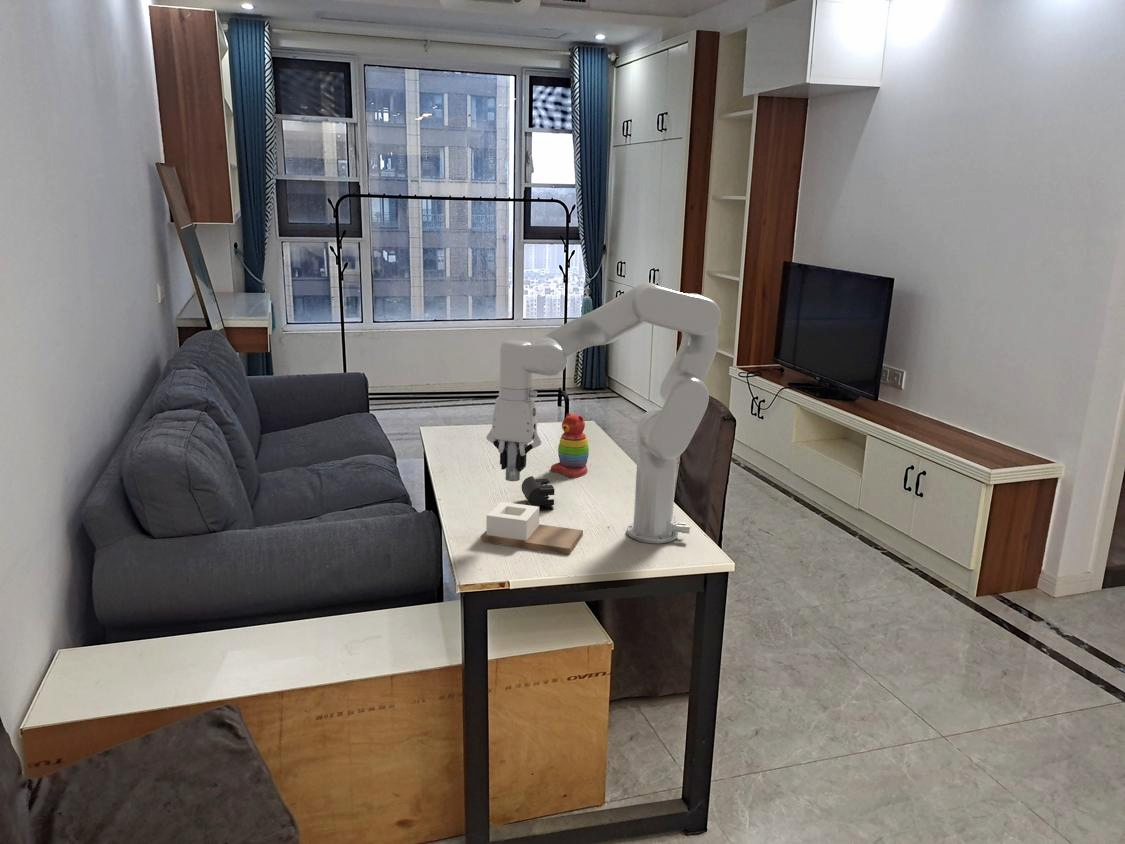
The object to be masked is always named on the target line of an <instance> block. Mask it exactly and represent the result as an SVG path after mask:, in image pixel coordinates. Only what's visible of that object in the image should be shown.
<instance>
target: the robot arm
mask: <svg viewBox="0 0 1125 844" xmlns="http://www.w3.org/2000/svg"><path fill="white" fill-rule="evenodd" d="M721 322H722V311H721V309H720V307H719V305H718V303H716V302H715V301H714V300H712V299H710V298H708V297H705V296H703V295H702V294H698V293H692V292H690V293H683V292H680V291H675V290H672V289H670V288H666V287H662V286H660V285H657V284H655V283H653V282H644V283H639V284H637V285H636V286H634V287H632V288H630V289H629V290H627V291H625V292H623V293H622V294H620V295H618V296H617V297H615V298H613V299H612V300H610V301H608V302H606V303H604V304H603V305H601V306H600V307H597V308H596V309H594V310H591V311H589V312H588V313H585V314H583V315H581V316H579V317H577V318H575V319H573V320H571V321H568V322H566V323H565V324H562V325H560V326H559V327H557V328H556V329H553V330H552V331H550V332H548V333H546V334H545V335H543V336H541V337H539V338H538V339H537V341H536V342H534V344H532V343H531V342H529V341H527V340H522V339H521V340H520V339H511V340H510V339H509V340H505V341H503V342H502V343H501V344H500V348H499V351H500V352H499V353H500V354H499V386H498V388H499V389H498V390H499V391H498V397H496V399H495V403H494V408H493V413H492V422H491V428H490V431H489V432H488V433H487V435H486V436H485V437H486V438H485V439H486V440H487V441H489V442H490V443H492V444H493V445H494V447H495V448H496V449H497V450H498V453H499V465H500V467H501V468H500V469H501V470H506V443H507V441H510V442H517V443H519V447H520V455H518V466H517V471H518V472H520V473H521V472H522V471H523V470H524V469H525V468H526V466H527V454H528V453H529V452H530V451H532V450H533V449H535V448H538V447H539V446H541V445H542V441H541V439H540V437H539V435H538V417H537V416H538V415H537V406H536V402H535V399H534V398H536V397H537V396H538V390H537V391H536V390H535V389H533V384H532V383H533V381H532V380H533V374H536V375H540V376H541V375H542V376H549V377H552V376H557V375H559V374H561V373H562V372H563V371H564V370H565V368H566V367H567V364H568V358H569V357H571V356H573V355H575V354H577V353H578V352H580V351H583V350H584V349H587V348H591V347H596V346H605V345H608V344H611V343H613V342H615V341H618V340H619V339H620V338H622V337H624V336H625V335H628V334H629V333H631V332H634V330H636V329H638V328H640V327H642V326H644V325H645V324H650V325H654V326H656V327H660V328H663V329H668V330H671V331H677V332H681V342H680V345H679V348H678V350H677V352H676V355H675V357H674V359H673V361H672V363H671V365H670V366H669V369H668V370H667V373H666V374H665V376H664V378H663V380H662V381H661V383H660V386H659V393H660V394H659V395H660V398H661V399H662V401H663V402H664V404H663V406H662V408H652V409H650V410H647V411H646V412H644V413H643V414H642V416H641V417H640V418H639V420H638V423H637V426H636V427H637V428H636V448H637V449H636V455H637V456H636V475H635V477H636V478H635V493H634V509H633V510H634V511H633V513H634V514H633V522H632V523H630V524H629V525H627V526H626V535H628V536H629V537H630V538H632V539H634V540H636V541H639V542H642V543H647V544H666V543H671V542H672V541H674V540H676V539H677V538H678V535H679V533H681V534H687V535H690V533H691V525H687V522H678V521H677V520H676V515H674V503H675V501H674V500H675V487H676V486H675V485H676V476H677V458H678V457H680V456H681V455H682V454H683V452H685V450H686V449H687V448H688V447H689V444H690V442H691V441H692V439H693V437H694V435H695V434H696V431H697V430H698V427H699V425H700V424H701V421H702V419H703V417H704V416H705V413H706V411H707V409H708V405H709V400H710V393H709V390H708V387H707V385H706V384H705V382H704V381H705V379H706V377H707V375H708V373H709V371H710V368H711V366H712V365H713V362H714V359H715V358H716V354H717V351H718V345H719V334H718V333H719V332H718V327H719V326H720V324H721Z"/></svg>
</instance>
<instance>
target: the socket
mask: <svg viewBox="0 0 1125 844" xmlns="http://www.w3.org/2000/svg"><path fill="white" fill-rule="evenodd" d="M539 524H540V511H539V507H537V506H530V504H529V505H528V504H523V503H514V502H513V503H512V502H506V501H500V502H499V503H498V504H497V505H496V506H495V507H493V509H491V511H490V512H488V513H487V514H486V530H485V531H486V535H490V536H497V537H504V538H511V539H518V540H525V541H526V540H527V539H528V538H529V537H530V536H531V534H532V533H533V532H534V531H535V530H536V529H537V527H538V526H539Z"/></svg>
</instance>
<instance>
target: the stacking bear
mask: <svg viewBox="0 0 1125 844" xmlns="http://www.w3.org/2000/svg"><path fill="white" fill-rule="evenodd" d="M565 416H566V417H565V418H564V419H562V422H561V429H562V431H563V433H562V434H561V437H560V439H559V444H558V447H557V454H558V459H559V460H558V461H559V462H556V463H554V464H552V465H551V467H550V471H552V472H554V473H560V474H563V475H564V477H566V478H571V479H572V478H573V479H574V478H575V477H576V478H579V476H580V477H582V476H585V475H586V474H587V473H588V467H587V463H588V459H589V454H590V452H589V451H590V447H589V442H588V438H587V436H586V434H585V433H584V430H585V428H586V427H585V426H586V424H585V423H586V422H585V420H584V416H582V415H578V414H571V413H567V414H566V415H565ZM576 478H575V479H576Z"/></svg>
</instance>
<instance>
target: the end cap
mask: <svg viewBox="0 0 1125 844" xmlns="http://www.w3.org/2000/svg"><path fill="white" fill-rule="evenodd" d="M521 492H522V494H523V495H524V497H525V499H526V500H527V503H528V504H529V505H530V506H537V507H539V512H543V511H544V512H546V511H548V512H549V511H554V505H555V499H553V498H550V496H555V488H554V486H553V484H551V482H550V480H549V479H548V478H535V477H534V476H533V475H531V476H528V477H526V478H525V479H524V480H523V481H522V484H521Z"/></svg>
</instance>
